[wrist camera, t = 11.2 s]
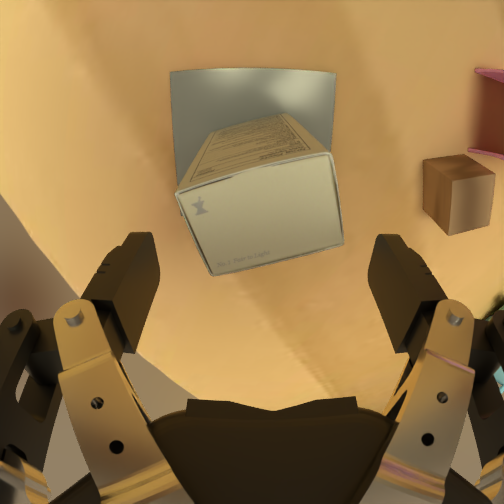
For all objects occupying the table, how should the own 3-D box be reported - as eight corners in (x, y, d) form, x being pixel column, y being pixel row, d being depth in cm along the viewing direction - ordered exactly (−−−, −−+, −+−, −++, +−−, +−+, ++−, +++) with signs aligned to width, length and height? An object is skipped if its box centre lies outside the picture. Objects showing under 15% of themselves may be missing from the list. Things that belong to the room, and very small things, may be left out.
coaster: (334, 73, 19) (336, 73, 18) (321, 213, 26) (322, 216, 25) (172, 71, 19) (169, 71, 18) (182, 212, 26) (180, 216, 25)
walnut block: (463, 153, 22) (495, 173, 18) (461, 200, 25) (489, 225, 20) (422, 159, 23) (452, 180, 18) (422, 208, 25) (448, 236, 21)
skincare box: (225, 181, 23) (206, 282, 13) (208, 129, 21) (166, 193, 11) (303, 162, 23) (347, 250, 12) (290, 108, 20) (332, 150, 10)
